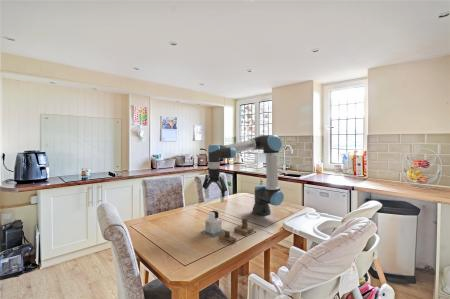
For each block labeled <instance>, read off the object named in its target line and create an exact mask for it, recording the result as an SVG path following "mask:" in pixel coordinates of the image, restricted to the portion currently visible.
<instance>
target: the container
mask: <svg viewBox="0 0 450 299" xmlns="http://www.w3.org/2000/svg"><path fill="white" fill-rule="evenodd" d="M222 223H223V222H222V219H221V218H219V211H217V210H210V211H209V212H208V218H207V219H205V227H204V228H205V229H204V230H205V231H206V232H209V233H211V234H216V233H218V232H220V231H221V229H222Z"/></svg>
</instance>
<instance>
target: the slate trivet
mask: <svg viewBox="0 0 450 299" xmlns="http://www.w3.org/2000/svg"><path fill="white" fill-rule="evenodd" d="M225 231H227V230H226V229H223V228H221V231H220V232H218V233H216V234H211V233H209V232H206V231H205V229H203V230H201V231H200V233H201V234H204V235H206V236H209V237H211V238H216V237H219V235H221V234H223V233H224V234H225Z"/></svg>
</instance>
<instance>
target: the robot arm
mask: <svg viewBox="0 0 450 299" xmlns="http://www.w3.org/2000/svg"><path fill="white" fill-rule="evenodd" d="M282 144H283V143H282V139H281V138H280V137H279V136H278V135H274V134H269V135H259V136H256V137H252V138H249V140H244V141H239V142H236V143H230V144H226V145H221V146H220V145H219V144H209V145H208V146H207V147H208V148H207V149H208V150H207V155H208V156H207V157H208V158H207V161H208V164H207V165H208V169H207V170H208V172H207V174H205V175H204V176H205V178H204V181H203V183H202V185H201V187H202V188H203V189H204V199H205V200H207V199H209V198H210V194H209V193H210V189H209V187H210V186H211V184H212V183H214V184H216V185H217V187H218V188H219V189H220V195H219V196H220V203H225V197H226V196H225V194H226V192H227V191H228V188H227V185H226V182H225V179H224V176H223V175H222V176H220V174H221V169H220V168H221V160H222V159H230V160H231V159H234V158H235V157H237V156H236V155H237V154H239V153H242V152H246V151H257V150H258V151H261V150H262V151H263V152H262V153H263V154H264V155H265V168H266V172H265V174H266V184H261V185H260V184H259V185H256V186H254V204H253V207H252V210H251V212H252V214H253V215H257V216H261V217H262V216H263V217H264V216H269V215H271V214H272V213H271V212H272V211H271V207H270V205H272V206H274V207H277V206H281V204H282V203H283V202H284V199H285V195H284V193H283V191H281V186H280V185H279V175H278V174H279V173H278V171H279V170H278V154H279V153H280V150H281V149H282V146H283V145H282Z"/></svg>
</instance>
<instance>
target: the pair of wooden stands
mask: <svg viewBox="0 0 450 299" xmlns="http://www.w3.org/2000/svg"><path fill="white" fill-rule="evenodd" d="M248 223H249V222H248V218H247V217H243V218H241V224H239V225H237V226H234V228H233V229H234V230H233V231H234V232H235V233H238V234H241V235H244V236H248V235H250V234H252V233H254V228H253V227H251V226H248ZM218 241H220V242H224V243H226V244H229V245H235V243H237V237H236V236H232V235H231V232H230V231H229V230H226V231H225V232H224V233H222V234H220V235H219V236H218Z"/></svg>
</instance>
